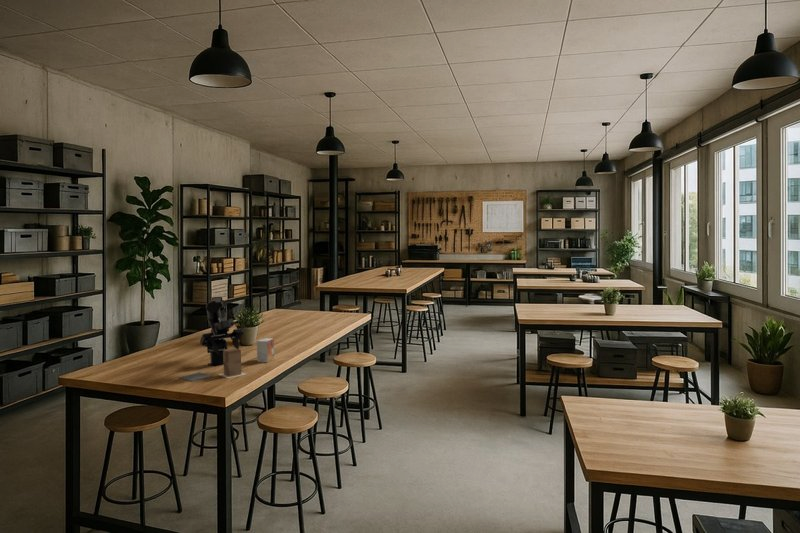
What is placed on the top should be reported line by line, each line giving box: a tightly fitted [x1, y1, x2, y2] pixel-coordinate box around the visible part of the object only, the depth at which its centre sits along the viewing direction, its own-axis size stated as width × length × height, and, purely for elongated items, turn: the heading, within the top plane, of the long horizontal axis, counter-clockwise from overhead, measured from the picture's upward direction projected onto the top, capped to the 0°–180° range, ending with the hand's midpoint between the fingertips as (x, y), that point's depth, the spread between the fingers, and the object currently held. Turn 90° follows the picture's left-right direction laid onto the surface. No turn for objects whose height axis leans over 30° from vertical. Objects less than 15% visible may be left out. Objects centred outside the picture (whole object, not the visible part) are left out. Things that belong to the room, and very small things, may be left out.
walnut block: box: [223, 347, 243, 377], centre depth 231 cm, size 6×6×11 cm
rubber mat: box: [178, 372, 214, 383], centre depth 227 cm, size 10×10×1 cm
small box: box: [256, 337, 275, 363], centre depth 257 cm, size 8×6×10 cm
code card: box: [218, 371, 247, 379], centre depth 232 cm, size 9×9×1 cm
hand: (228, 351), depth 233 cm, fingers open, 9 cm apart
